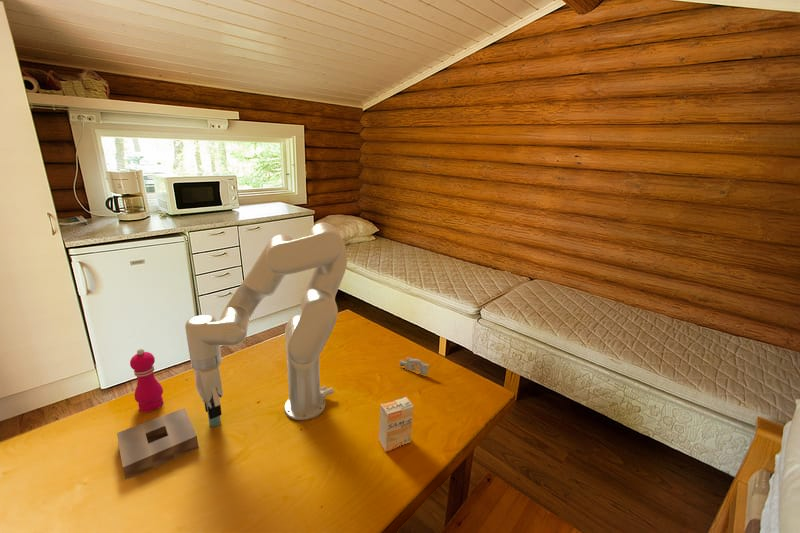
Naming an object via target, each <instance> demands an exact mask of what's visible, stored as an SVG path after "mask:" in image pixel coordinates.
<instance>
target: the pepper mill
mask: <svg viewBox="0 0 800 533" xmlns="http://www.w3.org/2000/svg"><path fill="white" fill-rule="evenodd" d="M155 358H156V357H155V356H154V354H153V353H151V352H149V351H145V349H143V348H139V349H137V350H136V354H134V355H133V356H132V357H131V359H130V362H129V366H130V368H131V369H132V370H133V372H134V376H135V377H136V378H137V379H136V380H137V384H136V387H135V391H134V394H133V395H134V400H135V402H136V403H138V404H137V406H138V410H139V411H140V412H142V413H147V412H152V411H155V410H157V409H159V408H160V407H161V406H162V405H163V403H164V399H163V398H164V397H163V393H164V389H163V386H162V384H161V383H160V382H159V381H158V380H157V378H156V376H155V374H154V372H155V365H154V363H156V362H155Z"/></svg>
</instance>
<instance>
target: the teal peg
mask: <svg viewBox="0 0 800 533" xmlns="http://www.w3.org/2000/svg"><path fill="white" fill-rule="evenodd" d="M212 402H213V400H211V403H212ZM206 405H207V412H206V413H207V417H208V424H209V426H210V427H211V428H213V427H218V426H219V425H220V424H221V423H222V422H221V415H220V416H218V417H215V418H213V419H210V418H209V413H208V407H209V405H208V403H206Z"/></svg>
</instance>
